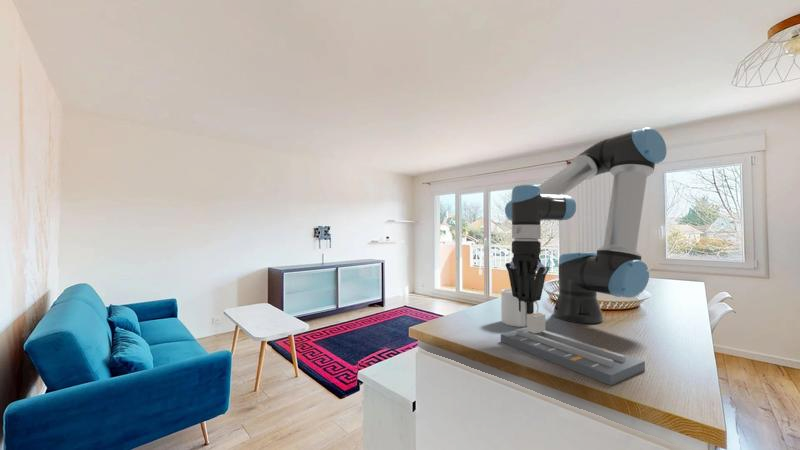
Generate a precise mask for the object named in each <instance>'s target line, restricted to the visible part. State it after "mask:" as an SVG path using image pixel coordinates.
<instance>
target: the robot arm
mask: <svg viewBox="0 0 800 450" xmlns="http://www.w3.org/2000/svg"><path fill="white" fill-rule="evenodd" d="M664 139H665V138H664V137H663V135H661V133H660V132H659V131H657V130H656V129H654V128H652V127H644V128H640V129H634V130H632V131H630V132H627V133H624V134H623V133H622V134H619V135H616V136H613V137H610V138H606V139H602V140H600V141H599V142H596V143H595V144H593V145H591V146H590V147H588V148H587V149H585V150H584V151H582V152H581V153H579V154H578V155H576V156H575V157H573V159H572V160H571V163H570V164H568V165H566V166H565V167H563V169H561V170H559V171H558V172H557V173H555V174H554V175H552V176H551V177H549V178H548V179H546V180H545V181H544V182H543V183H541V184H539V185H537V184H519V185H516V186H514V187H513V188H512V192H511V200H510V201H508V202H507V203H506V205H505V207H504V212H505V216H506V218H507V219H508V220H510V221H511V239H514V240H512V241H511V253H512V254H513V256H512V258H511V261H510V262H506V263H505V268H506V270H507V272H508V277H509V283H510V284H509V285H510V289H512V295H513V297H516V298H518V300H519V311H520V312H521V325H524V327H527V314H533V313H535V312H534V308H535V306H534V305H535V302H534V301H537V302H538V301H540V300H541V299H542V293H543V289H544V285H545V280H546V276H547V274H548V272H549V271H550V268H549V266H545V265H543V264H542V260H541V258H540V254H541V253H542V251H541V248H542V247H541V244H542V242H541V241H539V240H541V235H542V233H541V232H542V231H541V221H568V220H569V219H572V218H573V217H574V216H575V214H576V210H577V204H576V201H575V199H574V198H573V197H572V196H570V195H567V193H568V192H570V191H572V190H573V189H574V188H576V187H577V186H579V185H580V184H581V183H582V182H584V181H587V180H591V179H593V178H594V177H596V176H598V175H602V174H606V173H610V174H611V175H612V177H613V182H612V190H611V193H610V194H611V195H610V201H609V207H608V214H607V215H608V216H607V220H606V226H605V227H606V228H605V234H604V240H603V245H602V246H601V247H599V248H598V249H596V252H594V251H593V252H592V251H589V252H588V251H587V252H586V251H585V252H571V253H569V252H567V253H563V254H562V253H561V254H560V256H559V258H558V264H557V265H558V297H557V300H556V302H555V305H554V308H553V316H554V317H556V318H557V319H560V320H563V321H566V322H567V321H568V322H573V323H580V324H581V323H582V324H601V323H602V322H604V320H603V319H604V316H603V312H602V308H601V306H600V303H599V301H598V297H597V296H598V295H597V294H599V293H600V294H605V295H611V296H613V297H617V298H627V299H628V298H629V299H630V298H635V297H638V296H639V295H640V294H641V293H643V292H644V290H645V289H646V288H647V286H648V282H649V280H650V271H649V267H648V266H647V264H646V263H645V262H644V261H642V255H641V254H640V253H639V252H638V250H637V248H638V240H639V233H640V227H641V220H642V212H643V208H644V207H643V206H644V199H645V191H646V184H647V179H648V177H650V176H651V175H652V174H654V172H655V166H656V164H659V163H662V162H663V161H664V160H665V159H666V156H667V144H666V142H665V141H666V140H664Z"/></svg>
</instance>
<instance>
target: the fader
mask: <svg viewBox="0 0 800 450" xmlns="http://www.w3.org/2000/svg"><path fill="white" fill-rule="evenodd" d="M526 328H527V331H529V332H530V333H533V334H536V335H539V336H542V332H543V331H545V330H546V313H545V314H544V313H541V312H538V313H535V312H533V314H527V326H526Z"/></svg>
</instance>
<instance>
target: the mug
mask: <svg viewBox="0 0 800 450" xmlns="http://www.w3.org/2000/svg"><path fill="white" fill-rule="evenodd" d="M500 292H501V293H500V294H501V296H500V297H501V305H500V306H501V309H500V311H501V314H500V316H501V322H502V323H503V324H504V325H506V326H511V327H514V326H515V328H523V327H525V326H524V325H521V312H520V311H519V300H518V298H516V297H513V295H512V289H511V288H504V289H501V291H500ZM534 305H536V308H537V309H536V311H535V312H534V313H539V302H538V301H534Z"/></svg>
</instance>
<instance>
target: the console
mask: <svg viewBox="0 0 800 450" xmlns="http://www.w3.org/2000/svg"><path fill="white" fill-rule="evenodd" d="M500 342H501V343H504V344H506V345H509V346H512V347H513V348H517V349H519V350H521V351H524V352H527V353H529V354H531V355H533V356H536V357H539V358H542V359H544V360H546V361H548V362H552V363H554V364H556V365H559V366H561V367H564V368H566V369H568V370H571V371H574V372H575V373H578V374H581V375H584V376H587V377H588V378H591V379H594V380H596V381H599V382H601V383H603V384H606V385H608V386H613V385H615V384H618V383H620V382H622V381H624V380H627V379H628V378H631V377H634V376H635V375H638V374H640V373H642V372H645V371H646V363H645V362H646V361H645V360H642V359H640V358H637V357H632V356H630V355H627V354H624V353H623V354H622V353H620V352H616V351H614V350H609V349H607V348H604V347H601V346H597V345H594V344H591V343H588V342H584V341H581V340H577V339H574V338H571V337H568V336H565V335H562V334H558V333H556V332H552V331H549V330H546V329H545V331H543V332H542V336H539V335H536V334H533V333H530V332H529V331H527V327H526V328H522V329H520V328H518V329H516V330H514V331H508V332H504V333H500Z"/></svg>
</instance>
